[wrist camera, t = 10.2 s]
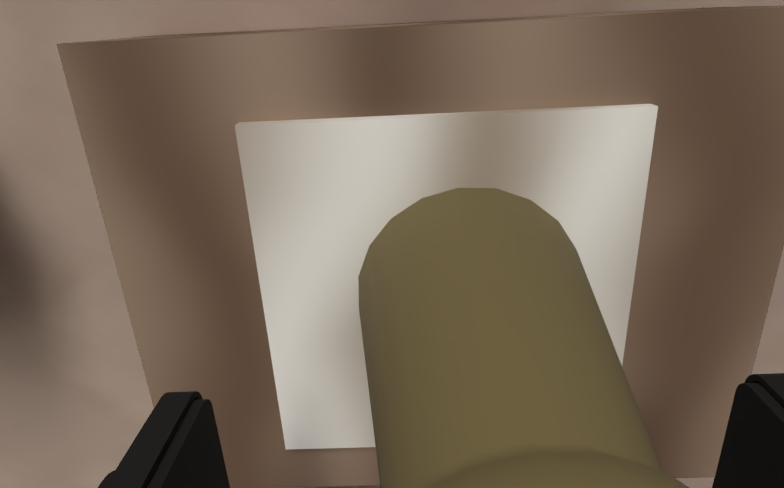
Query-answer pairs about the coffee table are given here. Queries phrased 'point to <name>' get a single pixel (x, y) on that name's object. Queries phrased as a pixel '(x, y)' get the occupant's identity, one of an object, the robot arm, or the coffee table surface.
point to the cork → (493, 354)
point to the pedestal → (425, 178)
